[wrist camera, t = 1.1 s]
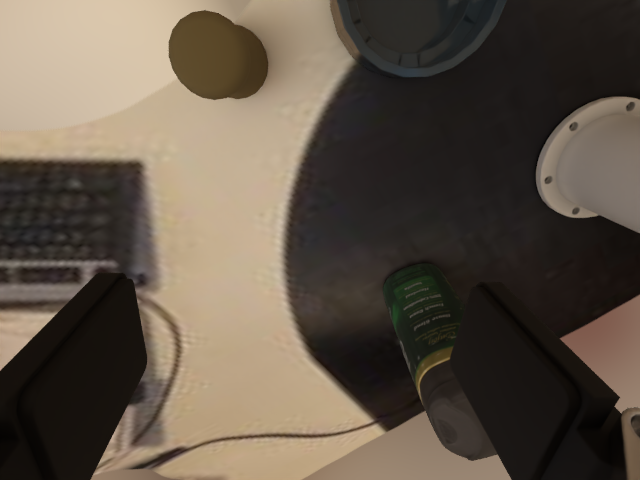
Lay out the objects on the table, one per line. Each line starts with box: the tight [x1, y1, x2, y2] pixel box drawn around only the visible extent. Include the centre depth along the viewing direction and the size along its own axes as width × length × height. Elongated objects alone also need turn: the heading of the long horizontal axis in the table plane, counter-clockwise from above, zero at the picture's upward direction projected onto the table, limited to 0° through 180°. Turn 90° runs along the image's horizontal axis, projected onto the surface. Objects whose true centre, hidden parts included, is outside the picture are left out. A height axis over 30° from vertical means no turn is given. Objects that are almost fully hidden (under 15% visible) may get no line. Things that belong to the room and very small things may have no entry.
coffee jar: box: [383, 263, 497, 461], centre depth 35 cm, size 10×8×19 cm
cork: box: [169, 10, 268, 100], centre depth 26 cm, size 6×6×11 cm
